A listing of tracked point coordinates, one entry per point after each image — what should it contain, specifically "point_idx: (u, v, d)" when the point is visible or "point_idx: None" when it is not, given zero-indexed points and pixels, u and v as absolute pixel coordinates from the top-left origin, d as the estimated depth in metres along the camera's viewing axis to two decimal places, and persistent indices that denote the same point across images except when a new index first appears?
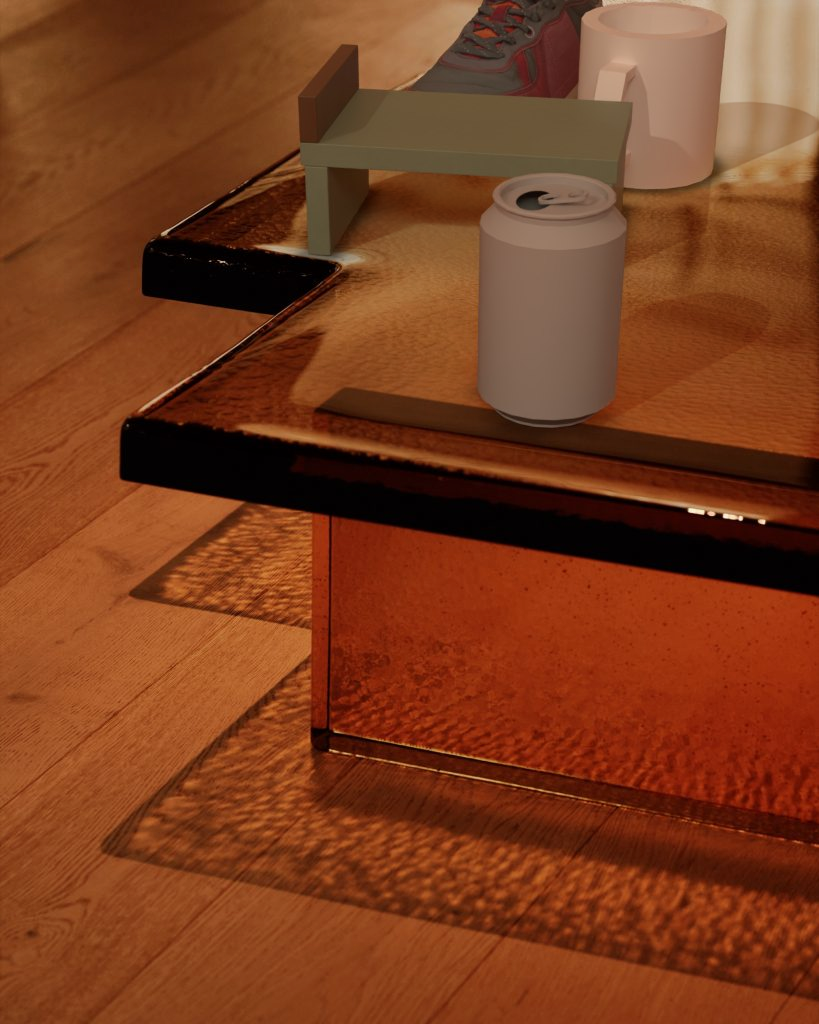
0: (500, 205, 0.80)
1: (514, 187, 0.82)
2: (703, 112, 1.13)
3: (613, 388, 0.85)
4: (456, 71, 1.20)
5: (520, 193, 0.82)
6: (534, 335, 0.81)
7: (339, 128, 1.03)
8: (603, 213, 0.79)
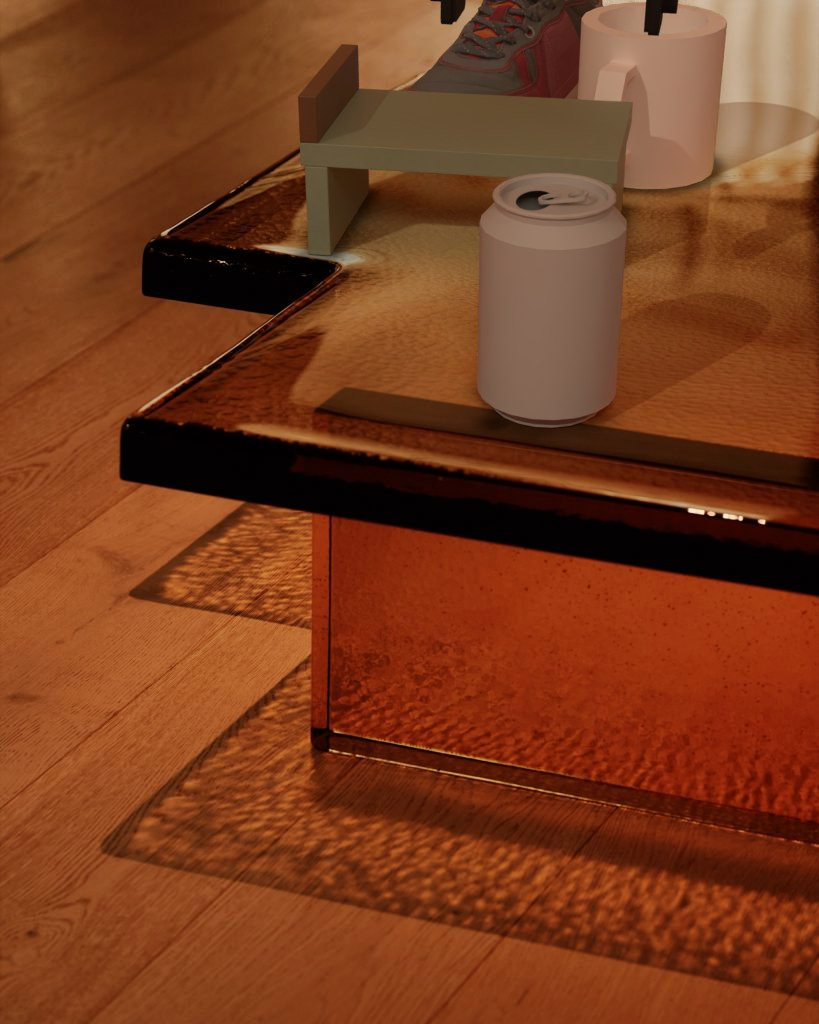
0: (500, 205, 0.80)
1: (514, 187, 0.82)
2: (703, 112, 1.13)
3: (613, 388, 0.85)
4: (456, 70, 1.20)
5: (520, 193, 0.82)
6: (534, 335, 0.81)
7: (339, 128, 1.03)
8: (603, 213, 0.79)
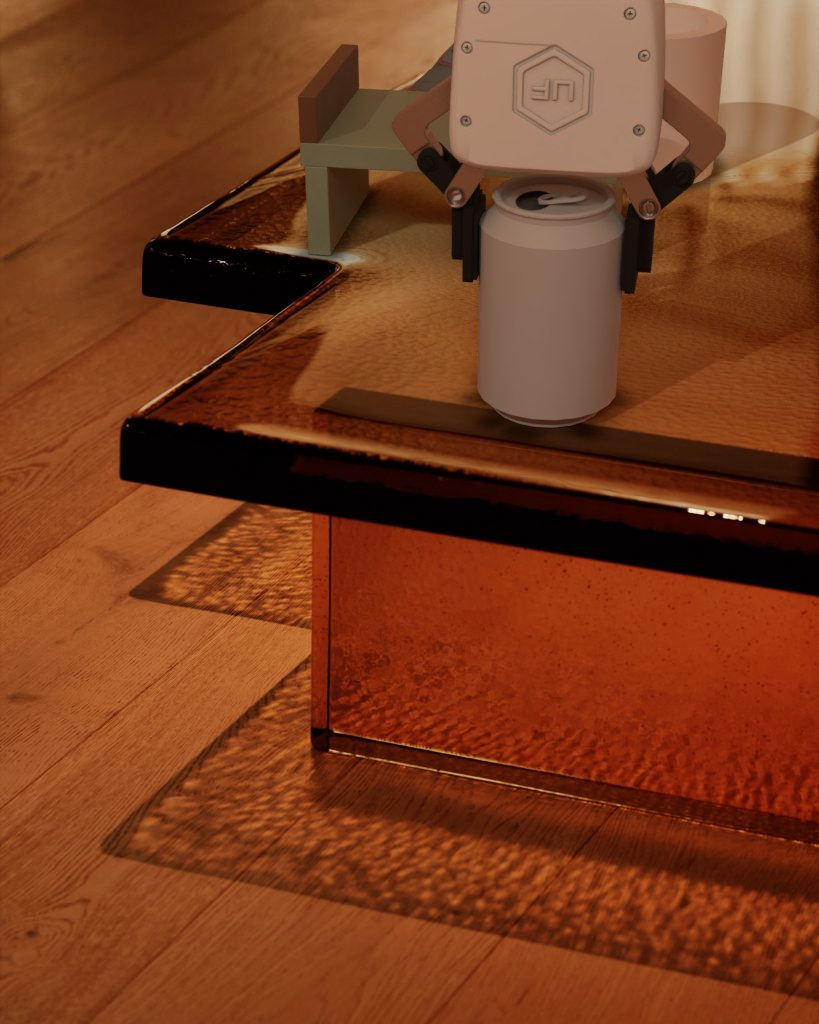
0: (500, 205, 0.80)
1: (514, 187, 0.82)
2: None
3: (613, 388, 0.85)
4: None
5: (520, 193, 0.82)
6: (533, 335, 0.81)
7: (339, 128, 1.03)
8: (603, 213, 0.79)
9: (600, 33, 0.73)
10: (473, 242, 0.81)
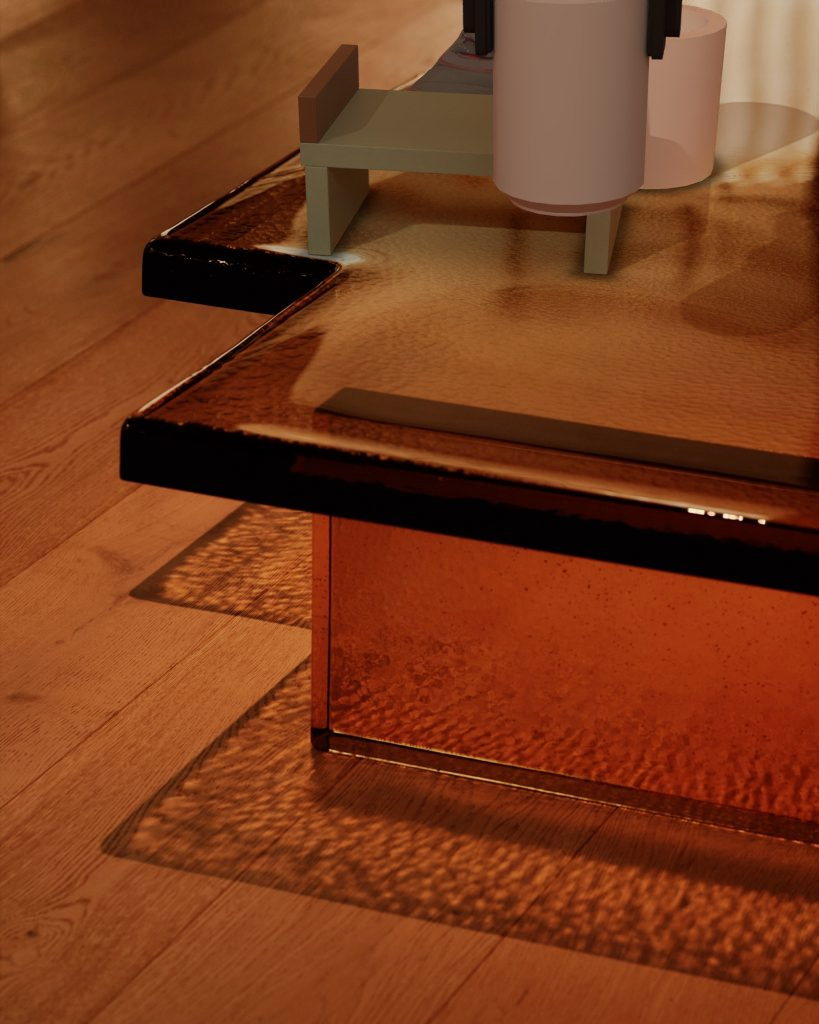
0: None
1: None
2: (703, 112, 1.13)
3: (641, 173, 0.78)
4: (456, 70, 1.20)
5: None
6: (554, 105, 0.74)
7: (339, 128, 1.03)
8: None
9: None
10: (486, 7, 0.75)
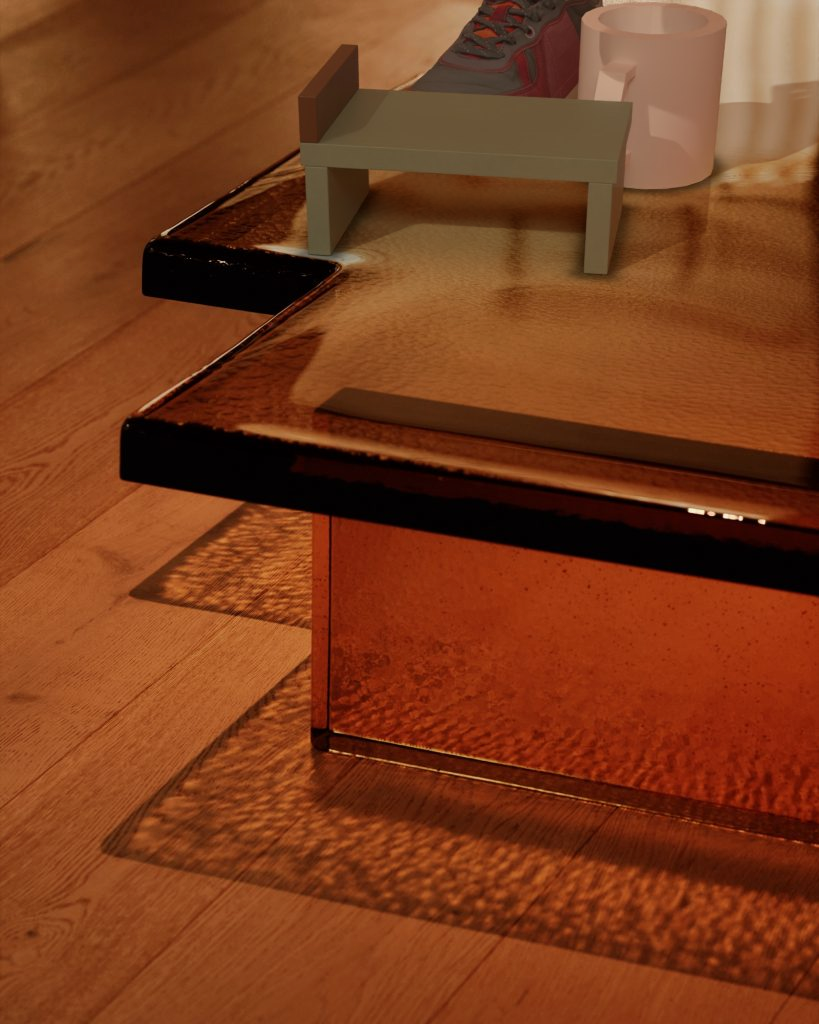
0: None
1: None
2: (702, 112, 1.13)
3: None
4: (456, 70, 1.20)
5: None
6: None
7: (339, 128, 1.03)
8: None
9: None
10: None
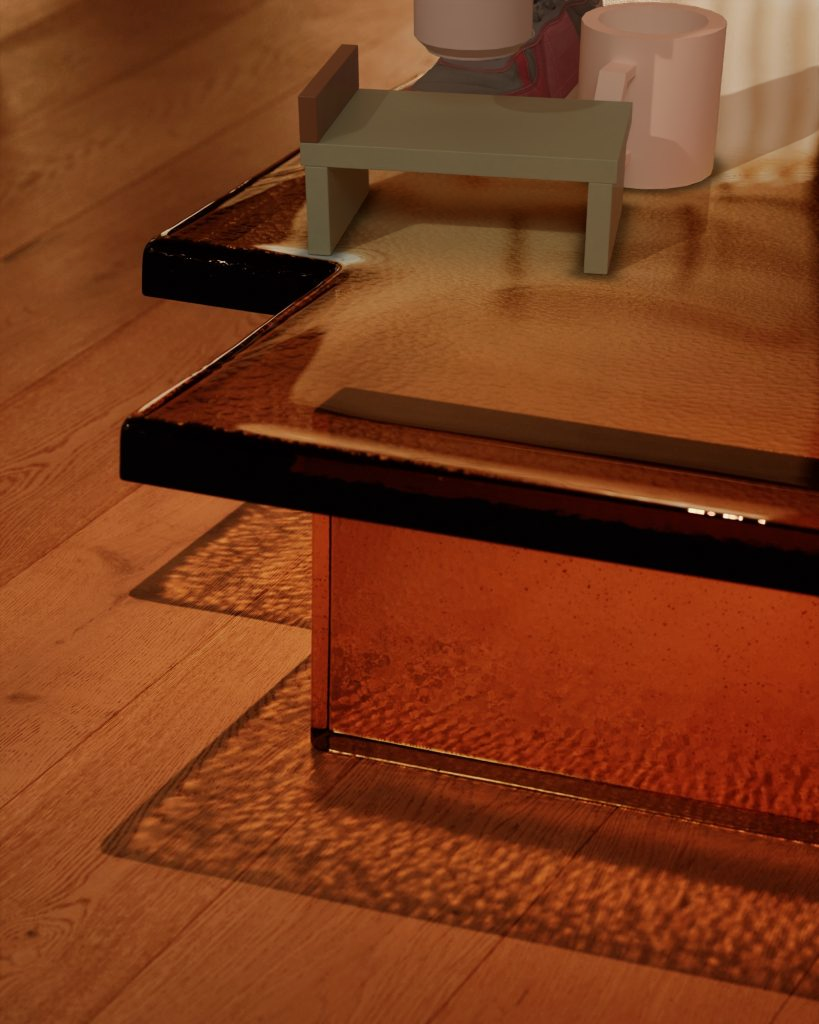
0: None
1: None
2: (702, 112, 1.13)
3: (528, 29, 1.00)
4: (456, 70, 1.20)
5: None
6: None
7: (339, 128, 1.03)
8: None
9: None
10: None
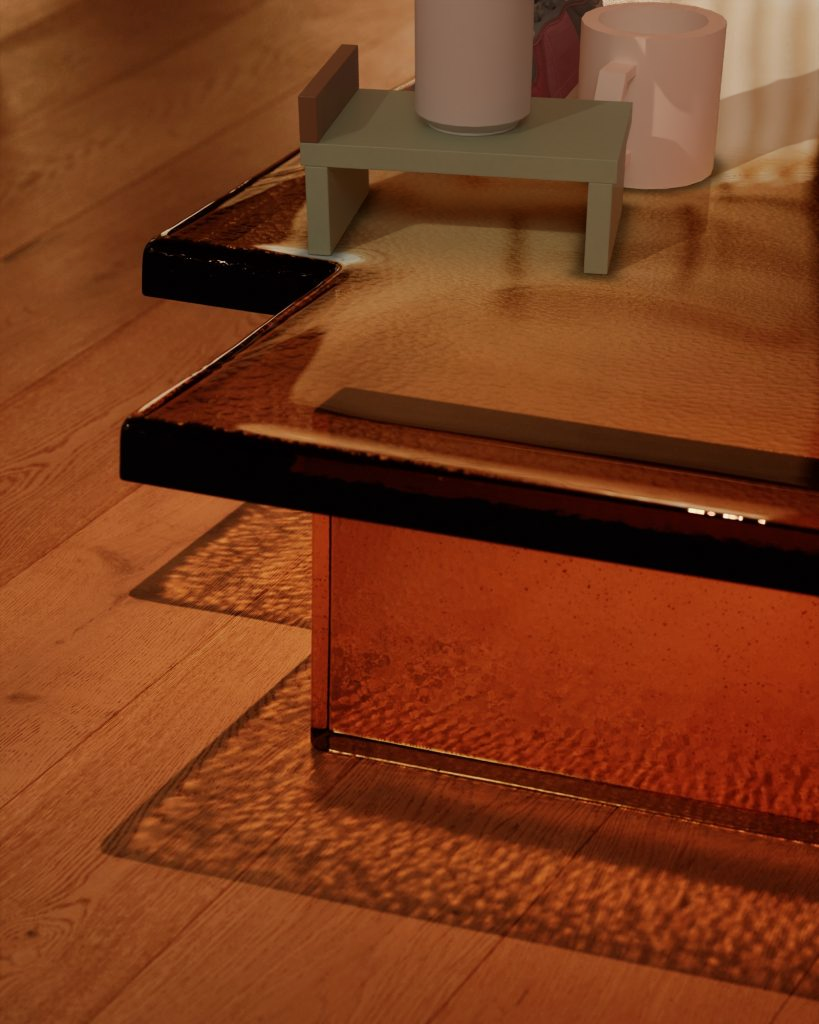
0: None
1: None
2: (703, 112, 1.13)
3: (527, 105, 1.02)
4: None
5: None
6: (458, 49, 0.98)
7: (339, 128, 1.03)
8: None
9: None
10: None
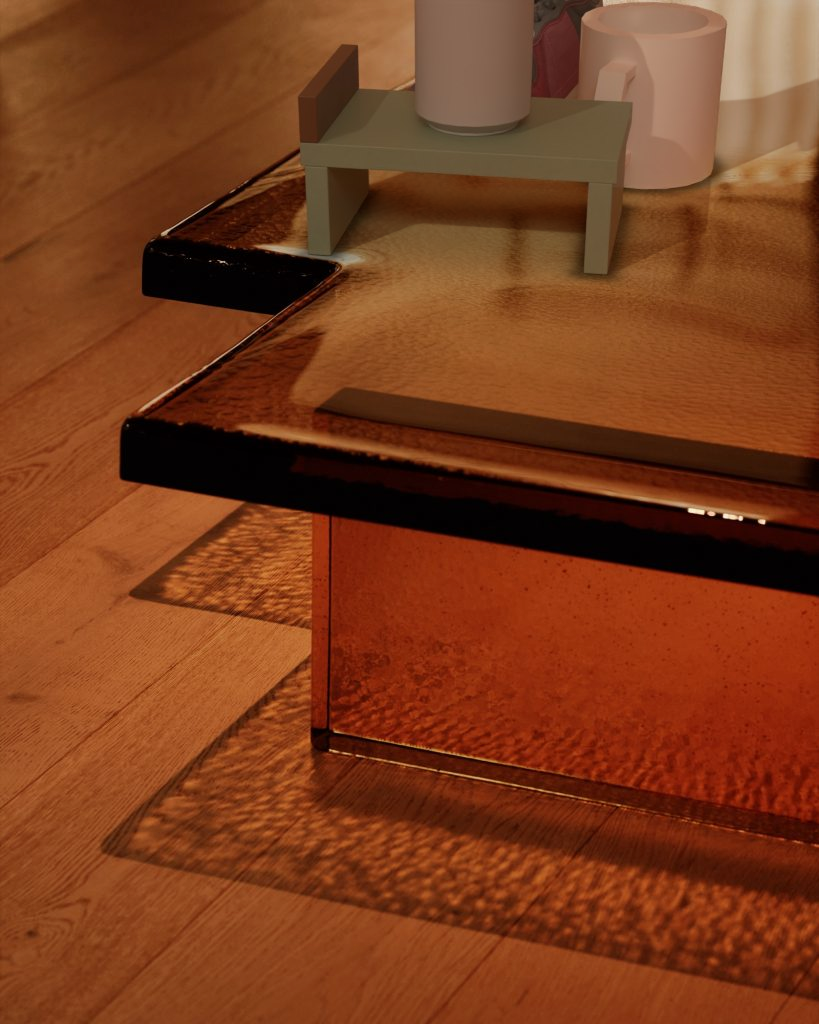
0: None
1: None
2: (703, 112, 1.13)
3: (527, 105, 1.02)
4: None
5: None
6: (458, 49, 0.98)
7: (339, 128, 1.03)
8: None
9: None
10: None
